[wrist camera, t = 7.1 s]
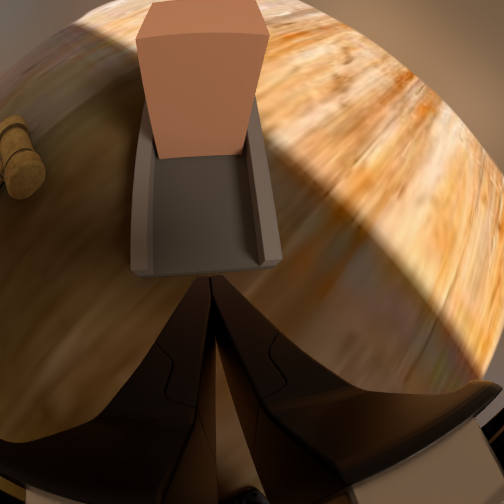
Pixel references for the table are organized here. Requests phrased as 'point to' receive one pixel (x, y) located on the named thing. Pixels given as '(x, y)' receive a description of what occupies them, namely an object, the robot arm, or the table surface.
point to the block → (201, 73)
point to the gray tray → (202, 209)
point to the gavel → (19, 159)
